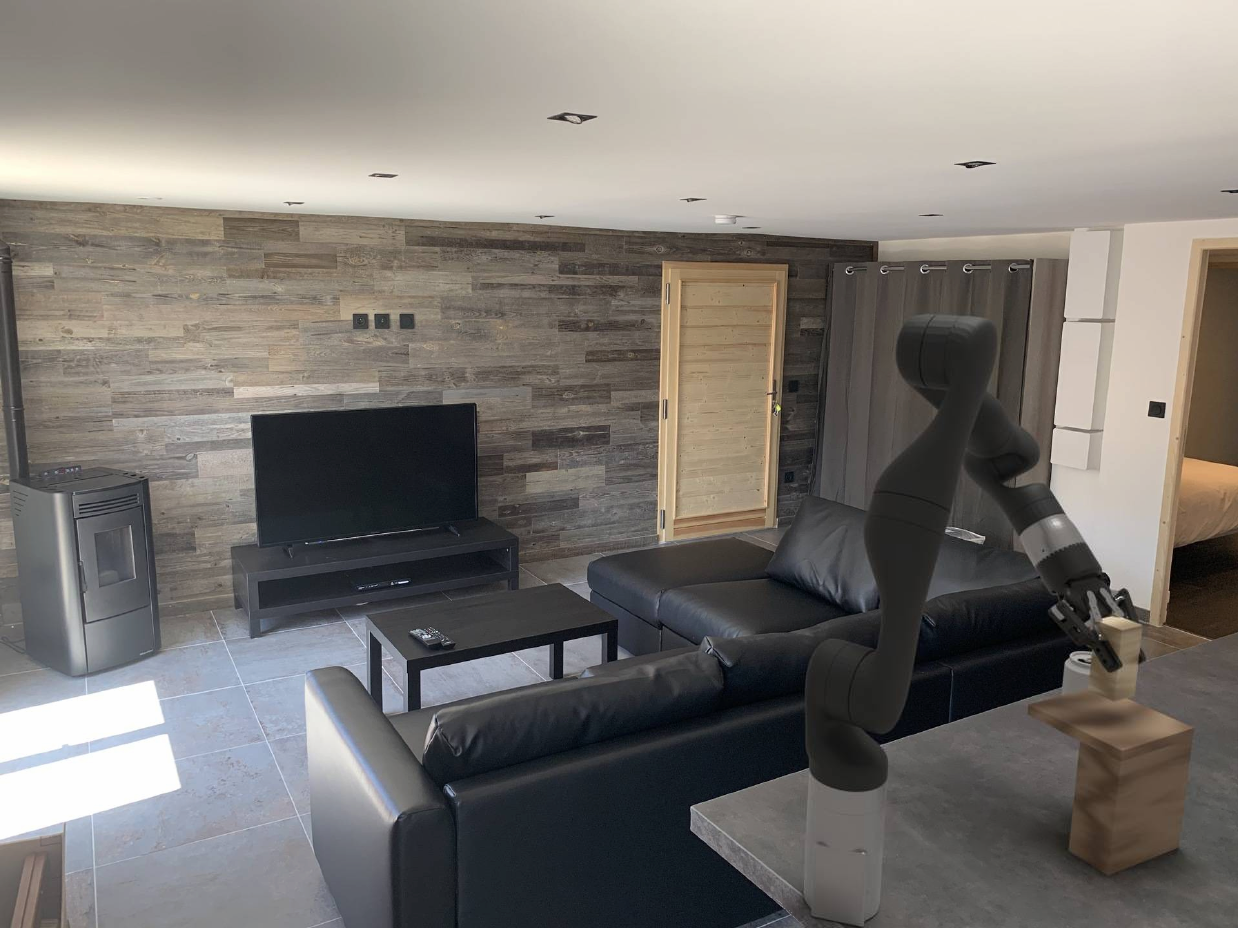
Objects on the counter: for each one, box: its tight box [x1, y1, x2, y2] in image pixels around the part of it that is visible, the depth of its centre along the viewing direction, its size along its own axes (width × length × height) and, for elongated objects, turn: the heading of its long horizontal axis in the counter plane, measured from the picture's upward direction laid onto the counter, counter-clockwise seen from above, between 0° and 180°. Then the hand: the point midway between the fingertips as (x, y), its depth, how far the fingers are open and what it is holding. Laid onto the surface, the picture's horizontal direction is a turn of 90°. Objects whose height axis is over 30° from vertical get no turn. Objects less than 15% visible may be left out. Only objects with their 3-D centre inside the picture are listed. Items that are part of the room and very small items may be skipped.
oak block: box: [1088, 615, 1143, 702], centre depth 129 cm, size 4×4×10 cm
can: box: [1061, 650, 1092, 696], centre depth 166 cm, size 8×8×12 cm
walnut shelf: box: [1027, 689, 1195, 876], centre depth 133 cm, size 14×14×18 cm
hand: (1127, 666), depth 128 cm, fingers closed on oak block, 4 cm apart
